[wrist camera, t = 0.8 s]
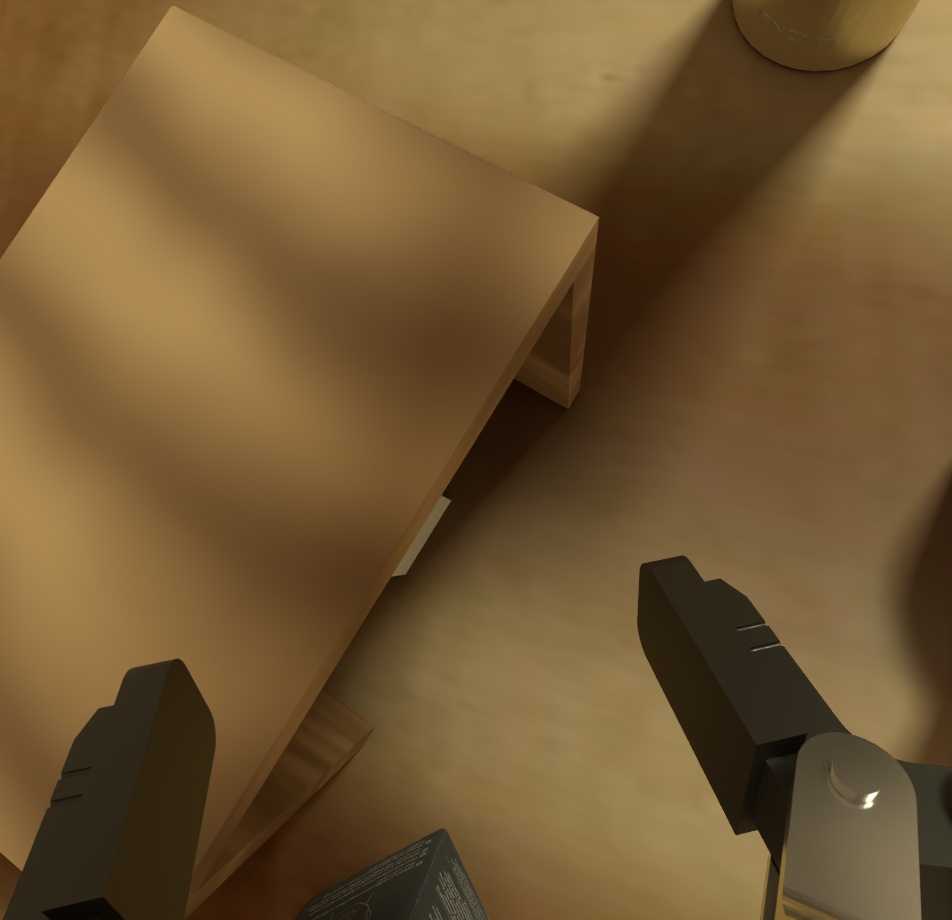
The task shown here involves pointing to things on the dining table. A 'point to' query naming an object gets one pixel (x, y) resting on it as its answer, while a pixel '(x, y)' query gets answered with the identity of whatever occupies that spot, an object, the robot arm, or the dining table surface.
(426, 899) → the box
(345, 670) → the dining table surface
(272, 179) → the shelf
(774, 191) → the dining table surface
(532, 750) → the dining table surface
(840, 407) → the dining table surface
